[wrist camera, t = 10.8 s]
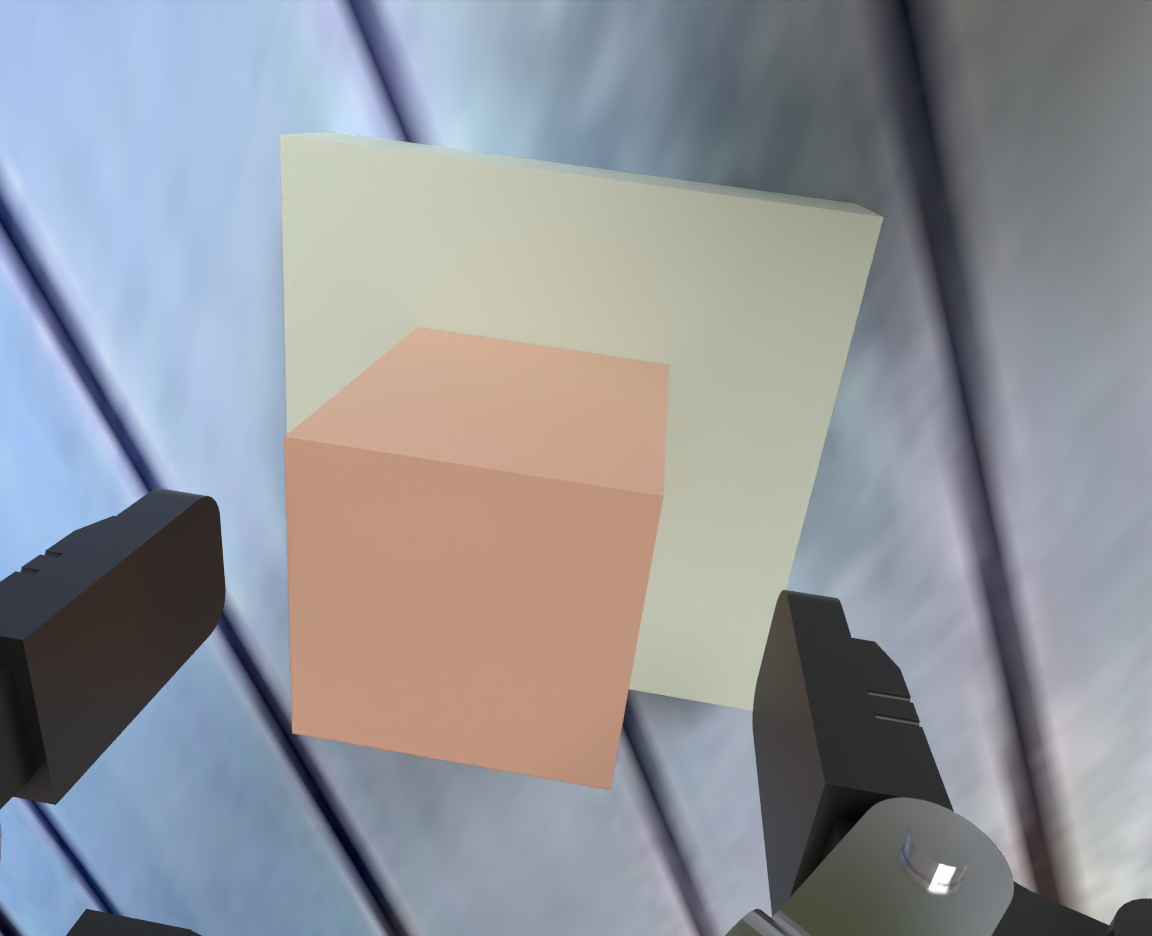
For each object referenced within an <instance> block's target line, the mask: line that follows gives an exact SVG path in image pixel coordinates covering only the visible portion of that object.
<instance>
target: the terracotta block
mask: <svg viewBox="0 0 1152 936" xmlns="http://www.w3.org/2000/svg"><path fill="white" fill-rule="evenodd" d="M668 374H669V365H667V364H660V363H654V362H647V361H640V360H633V359H627V358H620V357H613V356H606V355H600V354H593V353H586V352H579V351H573V350H566V349H559V348H552V347H546V346H539V345H532V344H525V343H519V342H512V341H505V340H498V339H492V338H485V337H478V336H471V335H465V334H458V333H451V332H444V331H438V330H431V329H424V328H416V329H414V330H413V331H412V332H411V333H410V334H408V335H407V336H406V337H405V338H404V339H402V340H401V341H400V342H399V343H397V344H396V345H395V346H394V347H393V348H391V349H390V350H389V351H388V352H387V353H385V354H384V355H383V356H382V357H380V358H379V359H378V360H377V361H376V362H374V363H373V364H372V365H371V366H369V367H368V368H367V369H366V370H365V371H363V372H362V373H361V374H360V375H359V376H357V377H356V378H355V379H354V380H352V381H351V382H350V383H349V384H348V385H346V386H345V387H344V388H343V389H342V390H340V391H339V392H338V393H337V394H335V395H334V396H333V397H332V398H331V399H329V400H328V401H327V402H326V403H324V404H323V405H322V406H321V407H320V408H318V409H317V410H316V411H315V412H314V413H312V414H311V415H310V416H309V417H307V418H306V419H305V420H304V421H303V422H301V423H300V424H299V425H298V426H296V427H295V428H294V429H293V430H292V431H290V432H289V433H288V434H287V435H286V436H284V445H285V482H286V519H287V557H288V594H289V632H290V669H291V707H292V733H293V734H299V735H305V736H310V737H316V738H321V739H327V740H333V741H338V742H344V743H349V744H355V745H361V746H366V747H372V748H378V749H383V750H389V751H394V752H400V753H406V754H411V755H417V756H422V757H428V758H434V759H439V760H445V761H450V762H456V763H462V764H467V765H473V766H479V767H484V768H490V769H495V770H501V771H507V772H512V773H518V774H523V775H529V776H535V777H540V778H546V779H551V780H557V781H563V782H568V783H574V784H580V785H585V786H591V787H596V788H602V789H608V790H611V784H612V779H613V773H614V768H615V762H616V757H617V751H618V746H619V740H620V735H621V729H622V724H623V718H624V713H625V707H626V702H627V696H628V691H629V685H630V679H631V674H632V668H633V663H634V657H635V652H636V646H637V641H638V635H639V630H640V624H641V619H642V613H643V608H644V602H645V597H646V591H647V586H648V580H649V574H650V569H651V563H652V558H653V552H654V547H655V541H656V536H657V530H658V525H659V519H660V514H661V508H662V503H663V497H664V475H665V450H666V425H667V399H668Z"/></svg>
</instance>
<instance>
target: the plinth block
mask: <svg viewBox="0 0 1152 936" xmlns="http://www.w3.org/2000/svg"><path fill="white" fill-rule="evenodd" d="M280 153H281V197H282V241H283V285H284V329H285V373H286V417H287V434H288V433H289V432H290V431H292V430H293V429H294V428H295V427H296V426H298V425H299V424H300V423H301V422H303V421H304V420H305V419H306V418H307V417H309V416H310V415H311V414H312V413H314V412H315V411H316V410H317V409H318V408H320V407H321V406H322V405H323V404H324V403H326V402H327V401H328V400H329V399H331V398H332V397H333V396H334V395H335V394H337V393H338V392H339V391H340V390H342V389H343V388H344V387H345V386H346V385H348V384H349V383H350V382H351V381H352V380H354V379H355V378H356V377H357V376H359V375H360V374H361V373H362V372H363V371H365V370H366V369H367V368H368V367H369V366H371V365H372V364H373V363H374V362H376V361H377V360H378V359H379V358H380V357H382V356H383V355H384V354H385V353H387V352H388V351H389V350H390V349H391V348H393V347H394V346H395V345H396V344H397V343H399V342H400V341H401V340H402V339H404V338H405V337H406V336H407V335H408V334H410V333H411V332H412V331H413V330H414V329H416V328H424V329H431V330H438V331H444V332H451V333H458V334H465V335H471V336H478V337H485V338H492V339H498V340H505V341H512V342H519V343H525V344H532V345H539V346H546V347H552V348H559V349H566V350H573V351H579V352H586V353H593V354H600V355H606V356H613V357H620V358H627V359H633V360H640V361H647V362H654V363H660V364H667V365H669V374H668V399H667V425H666V450H665V475H664V497H663V503H662V508H661V514H660V519H659V525H658V530H657V536H656V541H655V547H654V552H653V558H652V563H651V569H650V574H649V580H648V586H647V591H646V597H645V602H644V608H643V613H642V619H641V624H640V630H639V635H638V641H637V646H636V652H635V657H634V663H633V668H632V674H631V679H630V685H629V689H630V690H636V691H642V692H647V693H653V694H659V695H664V696H670V697H676V698H682V699H687V700H693V701H699V702H704V703H710V704H716V705H722V706H727V707H733V708H739V709H745V710H750V711H753V702H754V694H755V688H756V683H757V678H758V674H759V670H760V666H761V662H762V658H763V654H764V650H765V646H766V642H767V638H768V634H769V630H770V626H771V622H772V618H773V614H774V610H775V606H776V603H777V600H778V597H779V595H780V593H781V591H782V590H786V588H787V585H788V581H789V577H790V573H791V569H792V565H793V562H794V558H795V554H796V550H797V546H798V543H799V539H800V535H801V531H802V527H803V523H804V520H805V516H806V512H807V508H808V504H809V501H810V497H811V493H812V489H813V485H814V481H815V478H816V474H817V470H818V466H819V462H820V458H821V455H822V451H823V447H824V443H825V439H826V436H827V432H828V428H829V424H830V420H831V416H832V413H833V409H834V405H835V401H836V397H837V394H838V390H839V386H840V382H841V378H842V374H843V371H844V367H845V363H846V359H847V355H848V351H849V348H850V344H851V340H852V336H853V332H854V329H855V325H856V321H857V317H858V313H859V309H860V306H861V302H862V298H863V294H864V290H865V287H866V283H867V279H868V275H869V271H870V267H871V264H872V260H873V256H874V252H875V248H876V244H877V241H878V237H879V233H880V229H881V225H882V222H883V218H884V217H883V216H881V215H879V214H877V213H875V212H873V211H871V210H869V209H867V208H865V207H863V206H861V205H859V204H857V203H850V202H842V201H835V200H828V199H820V198H813V197H806V196H798V195H791V194H784V193H776V192H769V191H762V190H754V189H747V188H740V187H732V186H725V185H718V184H710V183H703V182H696V181H688V180H681V179H674V178H666V177H659V176H652V175H644V174H637V173H630V172H622V171H615V170H608V169H600V168H593V167H586V166H579V165H571V164H564V163H557V162H549V161H542V160H535V159H527V158H520V157H513V156H505V155H498V154H491V153H483V152H476V151H469V150H461V149H454V148H447V147H439V146H432V145H425V144H417V143H410V142H403V141H395V140H388V139H381V138H373V137H366V136H359V135H351V134H344V133H337V132H318V133H295V134H280Z"/></svg>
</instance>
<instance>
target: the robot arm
mask: <svg viewBox="0 0 1152 936" xmlns="http://www.w3.org/2000/svg"><path fill="white" fill-rule="evenodd" d="M224 602H225V576H224V563H223V550H222V537H221V524H220V513H219V508H218V505H217V503H216V501H215V500H214V499H213V498H212V497H209V496H203V495H197V494H191V493H185V492H178V491H172V490H166V489H155V490H153V491H151V492H149V493H148V494H146V495H145V496H144V497H142V498H141V499H139V500H138V501H137V502H135V503H134V504H132V505H131V506H130V507H128V508H127V509H125V510H124V511H123V512H121V513H120V514H118V515H117V516H112V517H109V518H107V519H104V520H101V521H99V522H96V523H94V524H91V525H88V526H86V527H83V528H81V529H78V530H75V531H74V532H72V533H71V534H69V535H68V536H66V537H65V538H63V539H62V540H60V541H59V542H58V543H56V544H55V545H53V546H52V547H50V548H49V549H47V550H46V553H45V555H39V556H37V557H36V558H34V559H33V560H31V561H30V562H29V563H27V564H26V565H24V566H23V567H22V570H21V572H16V571H15V572H14V573H13V574H11V575H10V576H8V577H7V578H5V579H4V580H2V581H1V582H0V809H1V808H2V807H3V806H4V805H5V804H6V803H7V802H8V801H9V800H10V799H11V798H12V797H17V798H22V799H28V800H33V801H38V802H44V803H49V804H54V805H56V804H57V803H58V802H59V801H60V800H61V799H62V798H63V796H64V795H65V794H66V793H67V792H68V791H69V790H70V789H71V788H72V787H73V785H74V784H75V783H76V782H77V781H78V780H79V779H80V778H81V777H82V776H83V774H84V773H85V772H86V771H87V770H88V769H89V768H90V767H91V766H92V765H93V763H94V762H95V761H96V760H97V759H98V758H99V757H100V756H101V755H102V753H103V752H104V751H105V750H106V749H107V748H108V747H109V746H110V745H111V744H112V742H113V741H114V740H115V739H116V738H117V737H118V736H119V735H120V734H121V733H122V731H123V730H124V729H125V728H126V727H127V726H128V725H129V724H130V723H131V722H132V720H133V719H134V718H135V717H136V716H137V715H138V714H139V713H140V712H141V711H142V709H143V708H144V707H145V706H146V705H147V704H148V703H149V702H150V701H151V699H152V698H153V697H154V696H155V695H156V694H157V693H158V692H159V691H160V690H161V688H162V687H163V686H164V685H165V684H166V683H167V682H168V681H169V680H170V679H171V677H172V676H173V675H174V674H175V673H176V672H177V671H178V670H179V669H180V668H181V666H182V665H183V664H184V663H185V662H186V661H187V660H188V659H189V658H190V657H191V655H192V654H193V653H194V652H195V651H196V650H197V649H198V648H199V647H200V646H201V644H202V643H203V642H204V641H205V640H206V639H207V638H208V637H209V636H210V634H211V633H212V632H213V630H214V629H215V627H216V626H217V624H218V622H219V619H220V617H221V614H222V611H223V607H224ZM910 698H911V697H910V694H909V691H908V689H907V686H906V683H905V681H904V678H903V676H902V673H901V670H900V668H899V667H898V666H897V665H896V664H895V663H894V662H893V661H892V660H891V659H890V657H889V656H888V655H887V654H886V653H885V652H884V651H883V650H882V649H881V648H880V647H879V646H878V645H877V644H876V642H874V641H868V640H862V639H855V638H851V635H850V631H849V628H848V625H847V622H846V618H845V615H844V612H843V609H842V605H841V603H840V601H839V599H837V598H832V597H826V596H819V595H813V594H807V593H801V592H794V591H788V590H782V591H781V593H780V595H779V597H778V600H777V603H776V606H775V610H774V614H773V618H772V622H771V626H770V630H769V634H768V638H767V642H766V646H765V650H764V654H763V658H762V662H761V666H760V670H759V674H758V678H757V683H756V688H755V694H754V702H753V735H754V745H755V755H756V764H757V774H758V784H759V793H760V803H761V813H762V822H763V832H764V841H765V851H766V861H767V870H768V880H769V890H770V899H771V909H772V917H771V918H770V917H769V916H768V915H766V914H765V913H764V912H763V911H762V910H760V909H756V910H753V911H751V912H749V913H748V914H747V915H745V916H744V917H743V918H742V919H741V920H740V921H739V922H738V923H737V924H736V925H735V926H734V927H733V928H732V929H731V930H730V931H729V932H728V933H727V934H726V935H725V936H1152V899H1137V900H1132V901H1130V902H1128V903H1126V904H1124V905H1123V906H1122V907H1121V908H1120V909H1119V910H1118V911H1117V913H1116V915H1115V917H1114V918H1113V920H1112V922H1111V924H1110V926H1109V925H1107V924H1105V923H1102V922H1100V921H1098V920H1095V919H1093V918H1091V917H1088V916H1086V915H1084V914H1081V913H1079V912H1077V911H1075V910H1072V909H1070V908H1068V907H1065V906H1063V905H1061V904H1058V903H1056V902H1054V901H1051V900H1049V899H1047V898H1044V897H1042V896H1040V895H1038V894H1036V893H1034V892H1032V891H1030V890H1028V889H1026V888H1024V887H1023V886H1021V885H1019V884H1018V883H1016V882H1014V881H1013V876H1012V873H1011V870H1010V867H1009V865H1008V863H1007V861H1006V859H1005V858H1004V856H1003V854H1002V853H1001V851H1000V850H999V849H998V847H997V846H996V845H995V844H994V843H993V841H992V840H991V839H990V838H989V837H988V836H987V835H986V834H985V833H984V832H982V831H981V830H980V829H979V828H978V827H976V826H975V825H974V824H973V823H971V822H970V821H968V820H967V819H965V818H964V817H962V816H960V815H959V814H957V813H955V812H954V811H953V808H952V805H951V803H950V800H949V798H948V795H947V792H946V790H945V787H944V784H943V782H942V779H941V776H940V774H939V771H938V768H937V766H936V763H935V760H934V758H933V755H932V752H931V750H930V747H929V744H928V742H927V739H926V737H925V734H924V731H923V729H922V727H919V718H918V715H917V713H916V710H915V707H914V705H913V703H911V702H910ZM1 837H2V831H1V824H0V859H1ZM66 936H201V935H199V934H197V933H195V932H193V931H192V930H190V929H185V928H180V927H175V926H170V925H165V924H160V923H155V922H150V921H145V920H139V919H134V918H129V917H124V916H119V915H114V914H109V913H104V912H99V911H94V910H89V909H86V910H85V911H84V913H83V914H82V915H81V917H80V918H79V919H78V921H77V922H76V923H75V925H74V926H73V927H72V929H71V930H70V931H69V933H68V934H67V935H66Z"/></svg>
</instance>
